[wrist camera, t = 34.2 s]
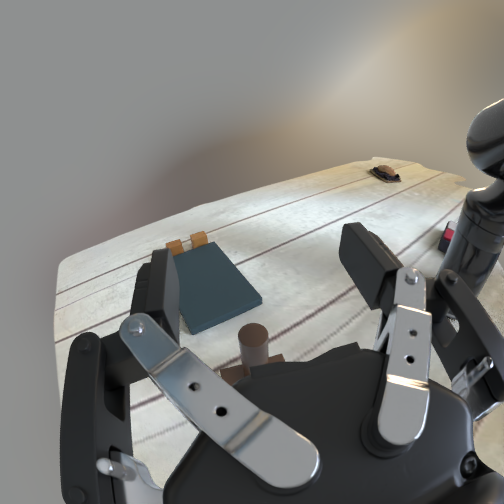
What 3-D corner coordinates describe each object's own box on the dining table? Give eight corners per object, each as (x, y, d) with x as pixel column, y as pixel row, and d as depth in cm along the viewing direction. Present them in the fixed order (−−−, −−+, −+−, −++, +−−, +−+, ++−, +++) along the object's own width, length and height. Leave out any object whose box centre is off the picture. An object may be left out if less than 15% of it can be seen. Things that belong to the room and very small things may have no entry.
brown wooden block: (209, 247, 55) (205, 242, 57) (206, 235, 53) (203, 230, 55) (195, 252, 54) (192, 247, 56) (192, 239, 52) (189, 234, 54)
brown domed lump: (367, 171, 88) (368, 161, 86) (385, 170, 89) (386, 161, 87) (385, 183, 79) (386, 172, 77) (403, 182, 81) (404, 172, 78)
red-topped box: (449, 218, 55) (496, 240, 45) (445, 232, 57) (491, 254, 48) (441, 235, 49) (496, 261, 39) (436, 251, 51) (489, 277, 42)
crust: (184, 256, 53) (182, 251, 55) (181, 244, 51) (179, 238, 53) (170, 260, 52) (168, 255, 54) (167, 248, 50) (165, 243, 52)
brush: (281, 362, 34) (285, 307, 27) (293, 390, 31) (302, 341, 24) (222, 378, 32) (206, 326, 25) (230, 408, 29) (215, 365, 22)
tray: (215, 247, 55) (214, 241, 54) (262, 303, 43) (262, 297, 42) (159, 268, 51) (157, 262, 50) (192, 335, 38) (190, 329, 37)
